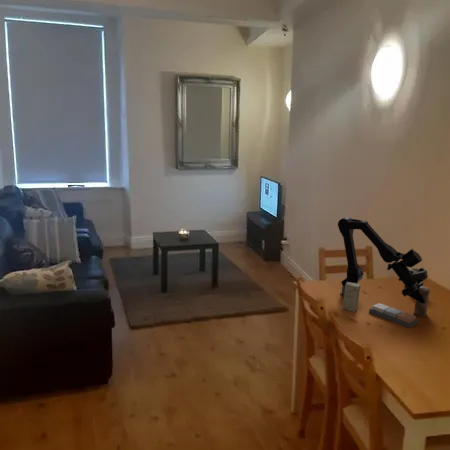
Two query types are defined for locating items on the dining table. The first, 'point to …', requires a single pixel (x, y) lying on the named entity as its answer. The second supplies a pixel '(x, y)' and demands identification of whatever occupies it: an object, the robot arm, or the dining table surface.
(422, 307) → the walnut stylus post
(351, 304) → the skincare box
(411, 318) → the terracotta key
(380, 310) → the key pad
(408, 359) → the dining table surface
